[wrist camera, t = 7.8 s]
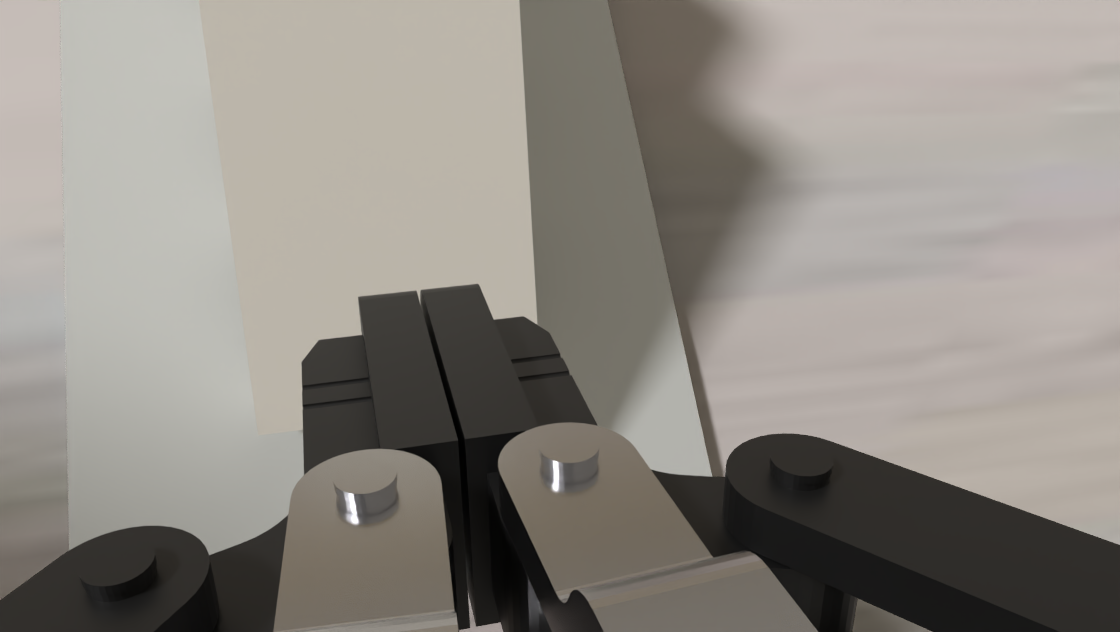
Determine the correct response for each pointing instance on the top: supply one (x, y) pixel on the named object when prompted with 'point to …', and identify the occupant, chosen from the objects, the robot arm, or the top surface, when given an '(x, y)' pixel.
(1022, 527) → the robot arm
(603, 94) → the mat
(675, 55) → the top surface
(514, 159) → the domino
